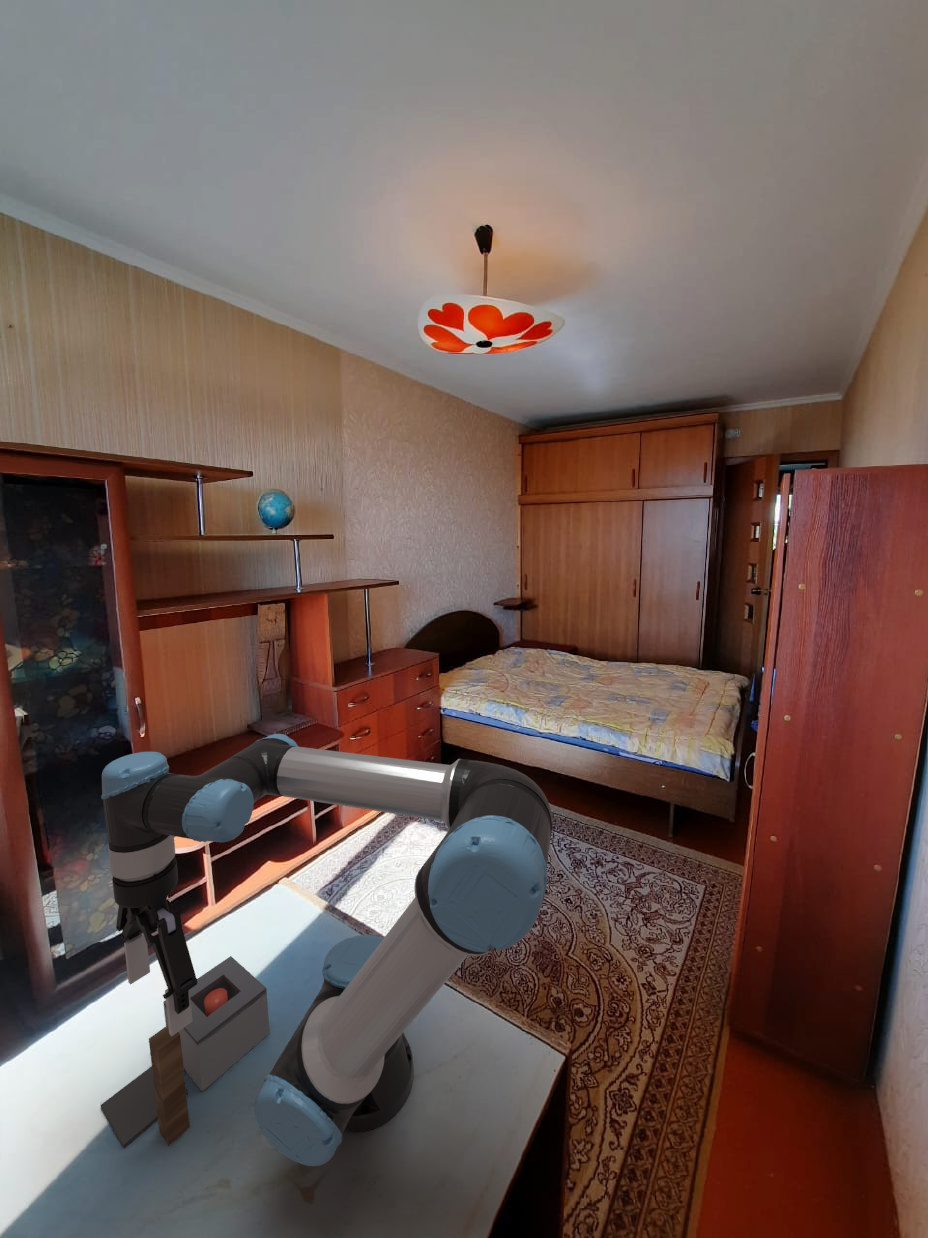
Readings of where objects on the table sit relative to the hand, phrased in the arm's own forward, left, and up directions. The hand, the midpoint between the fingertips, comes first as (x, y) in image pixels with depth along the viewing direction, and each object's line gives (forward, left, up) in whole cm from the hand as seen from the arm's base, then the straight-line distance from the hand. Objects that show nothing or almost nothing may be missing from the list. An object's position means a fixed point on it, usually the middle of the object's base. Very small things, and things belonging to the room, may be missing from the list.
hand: (159, 1001), depth 71 cm
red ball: (+8, -11, -17) cm, 22 cm away
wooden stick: (0, 0, -22) cm, 22 cm away
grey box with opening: (+8, -11, -22) cm, 26 cm away
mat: (+8, +1, -22) cm, 23 cm away
